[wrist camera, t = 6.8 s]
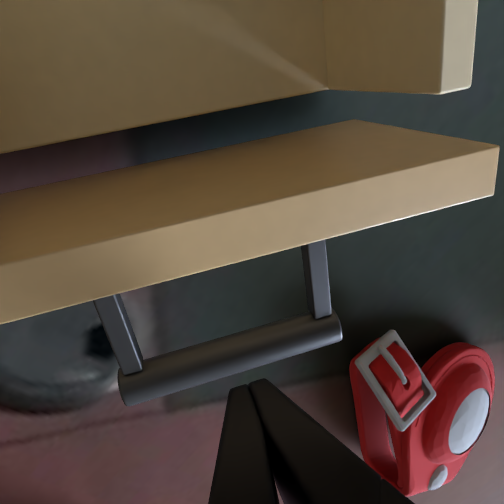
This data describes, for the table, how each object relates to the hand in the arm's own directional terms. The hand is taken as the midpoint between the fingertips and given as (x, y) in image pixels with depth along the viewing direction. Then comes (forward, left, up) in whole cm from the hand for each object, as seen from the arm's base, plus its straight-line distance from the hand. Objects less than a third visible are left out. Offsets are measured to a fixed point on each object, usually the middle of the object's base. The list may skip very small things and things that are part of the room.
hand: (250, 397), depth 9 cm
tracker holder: (-10, +11, -9) cm, 18 cm away
